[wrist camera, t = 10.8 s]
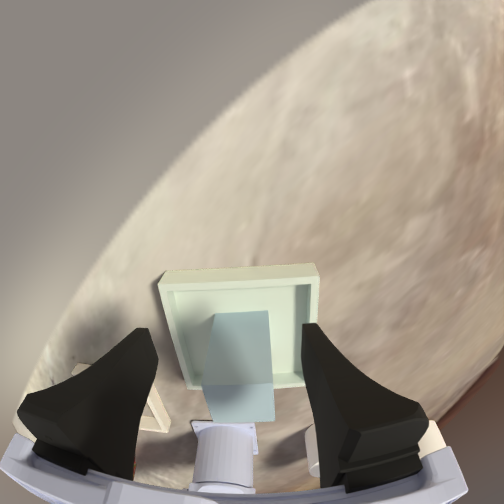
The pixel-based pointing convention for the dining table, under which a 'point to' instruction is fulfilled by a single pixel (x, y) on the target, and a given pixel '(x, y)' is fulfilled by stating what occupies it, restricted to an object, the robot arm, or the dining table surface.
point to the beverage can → (431, 440)
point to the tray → (241, 300)
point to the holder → (161, 417)
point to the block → (239, 368)
